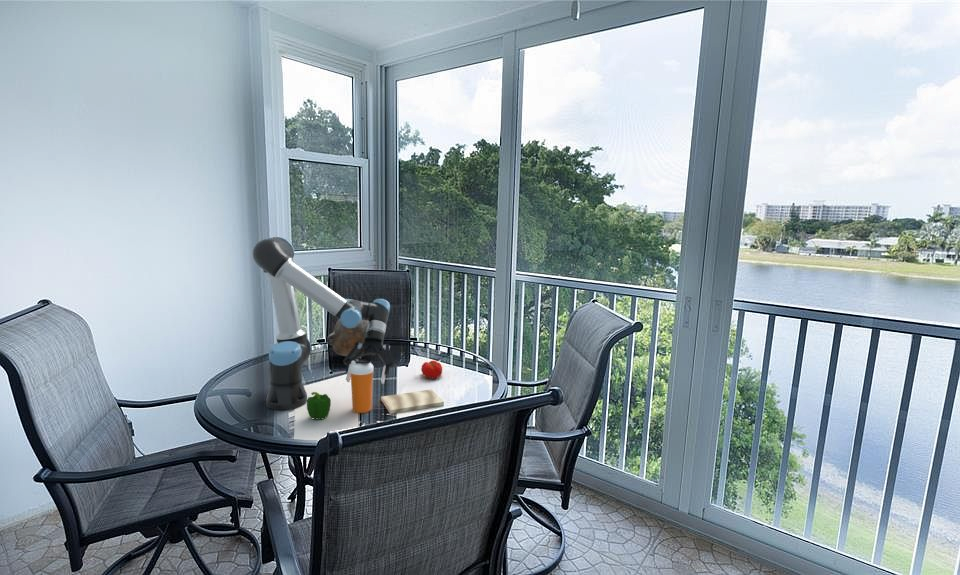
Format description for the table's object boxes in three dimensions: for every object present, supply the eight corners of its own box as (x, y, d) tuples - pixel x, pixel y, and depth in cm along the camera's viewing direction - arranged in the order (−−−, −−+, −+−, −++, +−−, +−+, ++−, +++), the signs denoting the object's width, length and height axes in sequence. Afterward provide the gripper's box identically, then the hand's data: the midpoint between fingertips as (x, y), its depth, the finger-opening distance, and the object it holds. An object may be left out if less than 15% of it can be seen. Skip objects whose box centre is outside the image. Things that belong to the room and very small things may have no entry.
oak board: (390, 413, 179) (390, 410, 179) (381, 400, 191) (381, 396, 191) (443, 405, 188) (443, 401, 188) (431, 392, 201) (431, 389, 200)
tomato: (423, 381, 214) (423, 367, 213) (419, 372, 225) (420, 359, 223) (444, 379, 217) (444, 366, 216) (440, 371, 227) (440, 358, 226)
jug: (359, 349, 257) (358, 295, 252) (386, 357, 244) (386, 301, 239) (321, 360, 237) (319, 302, 232) (348, 369, 225) (347, 308, 220)
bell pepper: (333, 412, 178) (333, 387, 177) (327, 422, 170) (327, 396, 169) (311, 412, 178) (310, 387, 176) (304, 421, 170) (303, 395, 168)
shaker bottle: (367, 415, 177) (367, 364, 173) (345, 412, 178) (345, 362, 175) (377, 406, 185) (377, 357, 182) (356, 403, 187) (356, 355, 184)
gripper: (406, 339, 195) (398, 387, 183) (347, 336, 196) (335, 383, 184) (403, 330, 189) (395, 379, 177) (343, 327, 190) (330, 375, 178)
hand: (364, 381), depth 180 cm, fingers open, 13 cm apart
